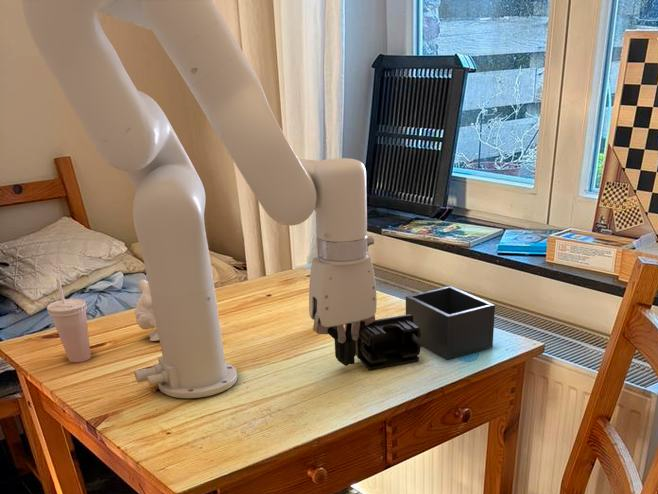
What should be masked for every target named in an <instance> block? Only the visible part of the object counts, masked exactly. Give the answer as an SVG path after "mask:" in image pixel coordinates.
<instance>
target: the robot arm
mask: <svg viewBox="0 0 658 494" xmlns="http://www.w3.org/2000/svg"><path fill="white" fill-rule="evenodd" d="M21 5H22V11H23V16H24V19H25V22H26V25H27V28H28V30H29V33H30V35H31V38H32V40H33V43H34V44H35V46H36V48H37V50H38V51H39V53H40V55H41V57H42V58H43V61H44V62H45V64H46V66H48V69H49V71H50V72H51V74H52V75H53V77H54V79H55V80H56V82H57V85H58V86H59V87H60V89H61V92H62V93H63V94H64V97H65V98H66V100H67V102H68V104H69V105H70V107H71V109H72V110H73V112H74V114H75V115H76V117H77V118H78V120H79V122H80V124H81V125H82V127H83V128H84V131H85V132H86V135H88V137H89V139H90V141H91V143H92V144H93V146H94V149H95V150H96V152H97V153H98V154H99V156H100V157H101V158H102V159H103V160H104V161H105V163H106V164H108V165H110V166H111V167H112V168H114V169H116V170H119V171H123V172H124V174H125V175H126V176H127V178H128V180H129V181H130V183H131V184H132V186H133V188H134V190H135V194H134V198H133V205H132V219H133V225H134V226H133V227H134V230H135V231H134V232H135V234H136V237H137V242H138V245H139V248H140V253H141V256H142V260H143V264H144V269H145V274H146V279H147V282H148V284H149V289H150V293H151V299H152V304H153V309H154V314H155V319H156V324H157V330H158V335H159V344H160V345H159V346H160V350H161V355H162V356H158V357H157V361H158V363H154V364H153V367H152V366H151V367H147V368H141V369H136V370H134V371H133V373H134V378H135V381H136V382H137V383H138V384H140V383H143V382H147V383H148V385H149V386H151V385H156V384H157V387H158V390H159V391H160V392H161V393H163V394H165V395H166V396H169V397H172V398H177V399H198V398H199V399H200V398H205V397H210V396H214V395H217V394H220V393H222V392H225V391H226V390H229V389H230V388H232V387H233V386H234V385H235V384H236V383H237V381H238V371H237V369H236V368H235V366H233V365H232V364H230V363H228V362H226V356H225V350H224V343H223V335H222V329H221V322H220V314H219V307H218V301H217V294H216V288H215V287H216V286H215V282H214V275H213V268H212V261H211V256H210V249H209V243H208V238H207V232H206V224H205V210H206V203H207V201H206V200H207V199H206V191H205V190H206V189H205V187H204V185H203V184H204V183H203V182H202V180H201V178H200V176H199V173H198V172H197V170H196V168H195V166H194V164H193V163H192V161H191V159H190V157H189V156H188V154H187V152H186V150H185V148H184V146H183V145H182V143H181V141H180V139H179V136H178V135H177V133H176V132H175V129H174V128H173V126H172V124H171V122H170V120H169V119H168V117H167V115H166V114H165V112H164V111H163V110H162V108H161V107H160V105H159V104H158V103H157V101H156V100H154V98H152V97H151V96H150V95H148V94H146V93H145V92H143V91H140V90H138V89H137V87H136V86H135V84H134V82H133V80H131V77H130V76H129V74H128V72H127V70H126V68H125V67H124V65H123V63H122V61H121V59H120V57H119V54H118V52H117V51H116V49H115V48H114V45H112V43H111V41H110V40H109V38H108V37H107V35H106V33H105V32H104V29H103V27H102V24H101V22H100V19H99V14H103V15H106V16H108V17H111V18H114V19H116V20H120V21H123V22H126V23H128V24H131V25H135V26H138V27H140V28H144V29H147V30H150V31H152V32H153V34H154V36H155V37H156V39H157V40H158V42H159V44H160V45H161V47H162V49H163V50H164V51H165V53H166V55H167V56H168V57H169V59H170V60H171V62H172V64H173V65H174V67H175V68H176V70H177V72H178V73H179V75H180V76H181V77H182V79H183V81H184V83H185V84H186V86H187V87H188V89H189V91H190V93H191V94H192V96H193V97H194V99H195V100H196V102H197V104H198V105H199V107H200V109H201V111H202V112H203V113H204V116H205V117H206V119H207V121H208V123H209V124H210V126H211V128H212V130H214V132H215V134H216V135H217V136H218V138H219V140H220V141H221V142H222V145H224V147H225V149H226V151H227V152H228V154H229V156H230V157H231V159H232V161H233V163H234V164H235V166H236V167H237V169H238V171H239V172H240V174H241V175H242V177H243V179H244V180H245V182H246V183H247V185H248V186H249V188H250V190H251V192H252V193H253V194H254V196H255V198H256V199H257V201H258V202H259V204H260V206H261V207H262V209H263V211H265V213H266V214H267V215H268V217H270V218H271V219H272V220H273V221H275V222H276V223H278V224H280V225H283V226H289V227H291V226H297V225H300V224H302V223H304V222H305V221H307V220H308V219H309V218H310V217H311V215H312V214H313V212H314V213H315V225H316V247H317V248H316V249H317V251H316V252H317V256H316V257H313V258H312V261H311V267H310V273H309V284H308V313H309V317H310V319H312V320H313V326H312V331H313V332H314V333H315V334H317V335H329V336H330V337H331V338H333V339H334V356H335V359H336V360H337V362H339V363H340V364H342V365H343V366H345V367H346V366H349V365H355V357H357V356H356V342H355V340H357V339H358V337H359V333H360V332H361V330H362V329H363V328H364V326H367V325H369V324H371V323H373V322H374V321H375V320H376V313H377V307H378V306H377V305H378V304H377V285H376V284H377V283H376V277H375V270H374V264H373V260H372V256H371V255H370V254H369V253H368V252H369V247H370V246H372V245H374V244H375V239H374V236H373V235H368V206H367V205H368V203H367V202H368V201H367V199H368V198H367V196H368V195H367V193H368V192H367V170H366V167H365V166H366V165H364V163H363V162H362V161H360V160H359V159H354V158H348V157H347V158H346V157H337V158H327V159H323V160H317V159H306V158H305V159H304V158H299V157H298V156H297V155H296V152H295V150H294V149H293V147H292V146H291V143H290V142H289V140H288V138H287V137H286V135H285V133H284V131H283V130H282V128H281V126H280V124H279V122H278V121H277V119H276V116H275V114H274V113H273V110H272V109H271V105H270V104H269V101H268V99H267V95H266V94H265V90H264V88H263V85H262V83H261V81H260V80H259V77H258V75H257V74H256V72H255V70H254V69H253V67H252V65H251V64H250V62H249V60H248V58H247V57H246V55H245V53H244V51H243V50H242V48H241V47H240V45H239V43H238V41H237V39H236V38H235V36H234V34H233V33H232V31H231V29H230V27H229V26H228V25H227V22H226V21H225V19H224V17H223V15H222V14H221V12H220V10H219V9H218V7H217V5H216V3H215V1H214V0H21Z"/></svg>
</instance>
